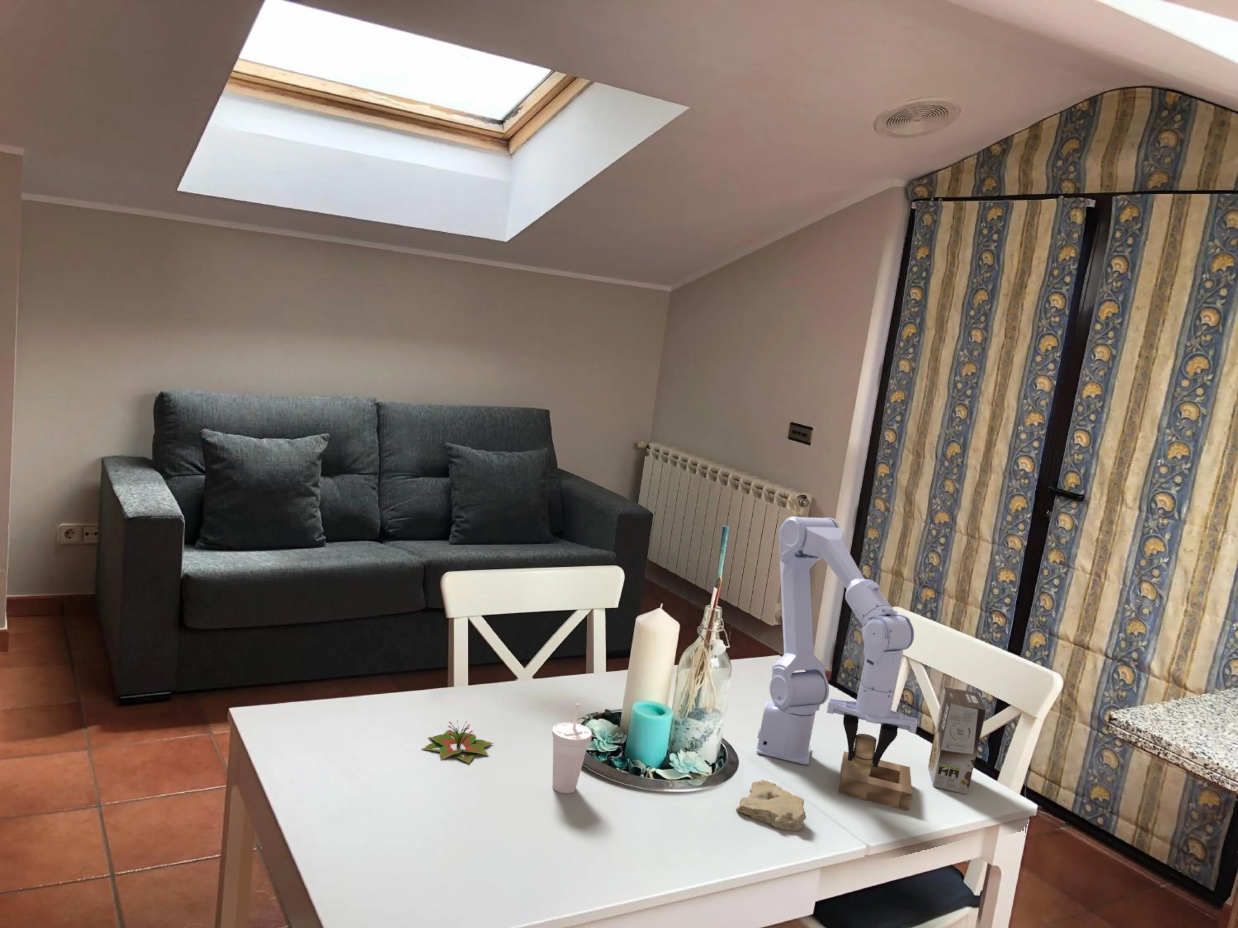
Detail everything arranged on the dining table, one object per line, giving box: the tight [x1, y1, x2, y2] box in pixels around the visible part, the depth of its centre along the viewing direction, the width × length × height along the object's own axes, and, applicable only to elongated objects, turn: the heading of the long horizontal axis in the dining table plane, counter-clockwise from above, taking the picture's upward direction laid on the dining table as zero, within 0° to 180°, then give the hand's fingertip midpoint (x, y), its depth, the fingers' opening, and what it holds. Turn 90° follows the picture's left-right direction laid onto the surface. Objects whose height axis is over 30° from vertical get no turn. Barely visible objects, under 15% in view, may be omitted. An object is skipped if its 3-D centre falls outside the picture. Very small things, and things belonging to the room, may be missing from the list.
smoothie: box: [551, 702, 593, 794], centre depth 155 cm, size 6×6×14 cm
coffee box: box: [927, 686, 987, 795], centre depth 179 cm, size 9×6×16 cm
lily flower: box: [422, 719, 494, 764], centre depth 164 cm, size 12×12×5 cm
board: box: [838, 751, 913, 811], centre depth 172 cm, size 12×11×3 cm
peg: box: [853, 733, 878, 776], centre depth 165 cm, size 4×4×6 cm
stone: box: [735, 779, 807, 832], centre depth 158 cm, size 13×4×10 cm
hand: (862, 761), depth 165 cm, fingers closed on peg, 3 cm apart
